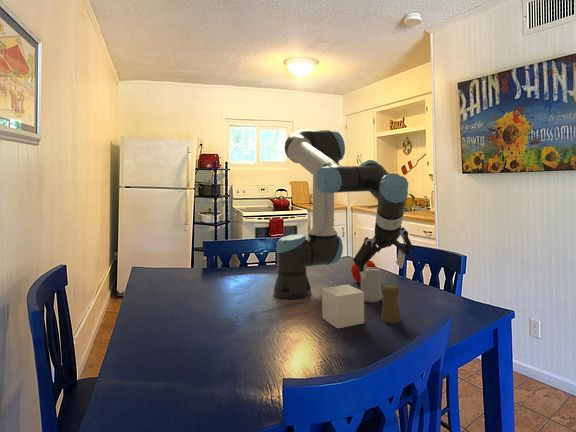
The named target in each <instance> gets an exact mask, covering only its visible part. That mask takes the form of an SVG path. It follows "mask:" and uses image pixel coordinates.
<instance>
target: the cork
mask: <svg viewBox="0 0 576 432" xmlns="http://www.w3.org/2000/svg"><path fill="white" fill-rule="evenodd" d="M399 294H400V290H399V287H397V286H396V285H393V284H385V285H384V286H383V287H382V288H381V295H383V300H382V309H381V316H380V320H381V322H384V323H387V324H398V323H400V322H401V315H400V308H399V307H400V306H399V301H398V300H399V299H398V297H399Z"/></svg>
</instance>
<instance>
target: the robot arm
mask: <svg viewBox="0 0 576 432" xmlns="http://www.w3.org/2000/svg"><path fill="white" fill-rule="evenodd" d="M284 153H285V156H286V157H287V158H288V159H289V160H290V161H291V162H293V163H294V164H299V165H300V166H301V167H303V168H304V169H305V170H306V171H308V172H309V173H310V174H311V175H312V228H311V229H310V230H309V232H308V237H307V236H306V235H305V234H302V233H298V234H290V235H286V236H282V237H280V238H279V239H277V241H276V251H275V252H276V265H277V266H276V267H277V269H276V271H277V276H276V280H275V283H274V286H273V295H274V296H275V297H276V296H277V297H276V298H279V297H280V299H284V298H285V299H284V300H298V299H303V298H306V297H309V296H311V294H312V287H311V284H310V280H309V278H308V274H307V267H313V266H324V265H325V266H326V265H327V266H328V265H331V264H336V263H338V261H340V260H341V258H342V255H343V250H344V248H343V247H344V245H343V242H342V241H343V240H342V238H341V236H339V235H338V231H337V230H336V229H335V227H334V225H335V223H334V222H335V221H334V220H335V193H336V194H337V193H352V192H353V193H355V192H357V193H359V192H369V193H370V194H371V195H372V196H373V197H374V198H375V199H376V200H377V206H376V207H377V209H376V216H375V223H374V236H373V237H372V238H369V237H364V240H363V243H362V245H361V246H360V248H359V249H358V251H357V253H356V254H355V256H354V258H353V259H352V261H353V263H355V264H356V266H358V269H359V270H360V275H361V276H362V278H363V279H366V270H367V265H366V263H367V262H368V261H369V260H370V261H371V259H372V258H373V257H374V256H375V255H376V253H379V252H380V251H381V250H382V249H386V248H389V247H390V248H391V247H392V245H394V246H395V248H396V247H397V248H398V252H397V256H396V257H397V259H396V265H397V266H398V267H399V269H403V267H404V263H405V260H406V259H407V256H409V255H410V254H411V253H410V251H411V252H412V251H414V246H413V245H412V242H411V240H410V238H409V231H408V230H407V229H406V228H405V227H403V226H402V224H403V219H404V213H405V208H406V205H407V204H406V202H407V200H408V199H407V198H408V196H409V195H408V194H409V191H408V189H409V181H408V179H407V178H406V176H402V175H400V174H398V173H389V172H388V171H387V170H386V169H385V167H384V166H383V165H381V164H379V163H378V162H377V161H376V160H373V159H368V160H366V161H363V162H362V163H360V164H359V165H345V166H344V165H341V164H340V161H342V160H343V159H344V157H345V156H344V155H345V153H346V145H345V140H344V137H343V136H342V134H341V133H340V132H338V131H337V130H328V129H325V130H324V129H323V130H322V129H317V130H316V129H300V130H296V131H295V132H293V133H291V134H290V135H289V136H288V137H287V138H286V140H285V142H284ZM400 237H401V238H402V240H403V242H404V244H405V245H403V244H402V243H401V242H400V241H399V240H398V239H400Z"/></svg>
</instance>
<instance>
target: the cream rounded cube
mask: <svg viewBox="0 0 576 432" xmlns="http://www.w3.org/2000/svg"><path fill="white" fill-rule="evenodd" d="M321 309H322V312H321V314H322V319H323V320H324V319H325V321H326V322H328V323H329V324H330V325H332V326H333V327H334V328H336V329H337V328H338V329H341V328H342V329H343V328H347V327H351V326H352V327H353V326H356V325H361V324H365V301H364V292H363V291H361V289H359V288H357V287H354V286H352V285H350V284H342V285H340V284H339V285H335V286H328V287H322V288H321Z"/></svg>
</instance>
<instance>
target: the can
mask: <svg viewBox="0 0 576 432" xmlns="http://www.w3.org/2000/svg"><path fill="white" fill-rule="evenodd" d="M360 290H361V291H363V292H364V303H378V302H379V301H380V300H381V299H382V272H381V271H380V268H378V267H376V268H375V267H367V270H366V279H363V278H362V276H361V283H360Z"/></svg>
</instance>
